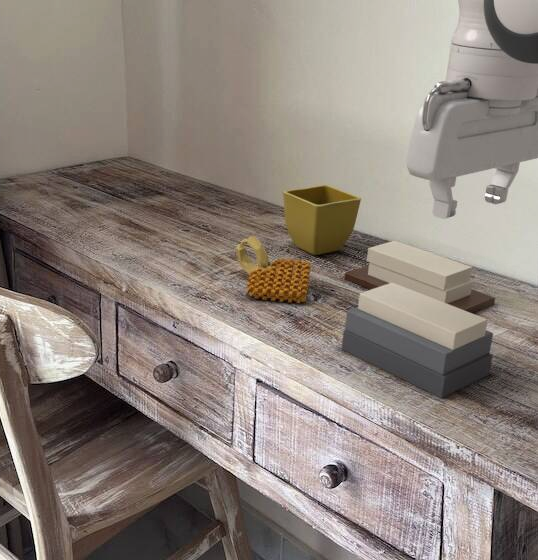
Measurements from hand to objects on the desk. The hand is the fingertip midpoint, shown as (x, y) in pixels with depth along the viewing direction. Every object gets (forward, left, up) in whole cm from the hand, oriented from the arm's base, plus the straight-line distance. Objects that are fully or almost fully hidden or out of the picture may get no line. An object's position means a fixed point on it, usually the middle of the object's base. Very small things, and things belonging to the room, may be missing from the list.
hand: (469, 209), depth 86 cm
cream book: (+2, +2, -14) cm, 14 cm away
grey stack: (+2, +2, -19) cm, 19 cm away
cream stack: (+15, -16, -19) cm, 29 cm away
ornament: (+28, 0, -19) cm, 34 cm away
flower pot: (+35, -17, -19) cm, 43 cm away
